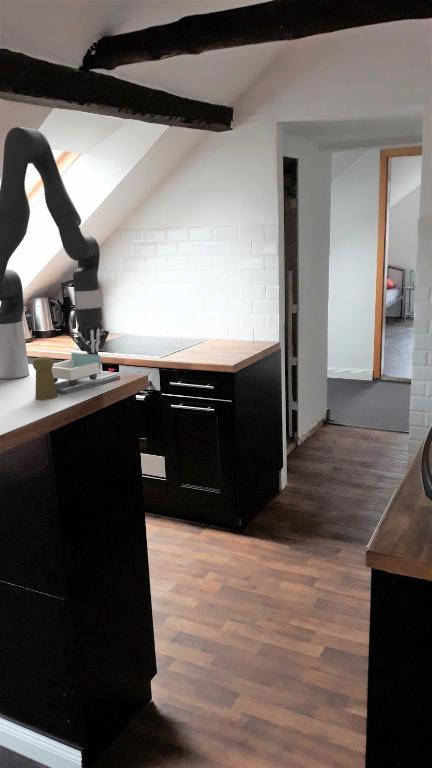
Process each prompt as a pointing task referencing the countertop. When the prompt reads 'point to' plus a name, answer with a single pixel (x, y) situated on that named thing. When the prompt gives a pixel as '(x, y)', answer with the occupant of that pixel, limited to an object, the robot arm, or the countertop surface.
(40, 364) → the olive green pepper mill
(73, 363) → the cart
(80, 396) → the countertop surface
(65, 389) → the rail board
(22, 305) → the robot arm
